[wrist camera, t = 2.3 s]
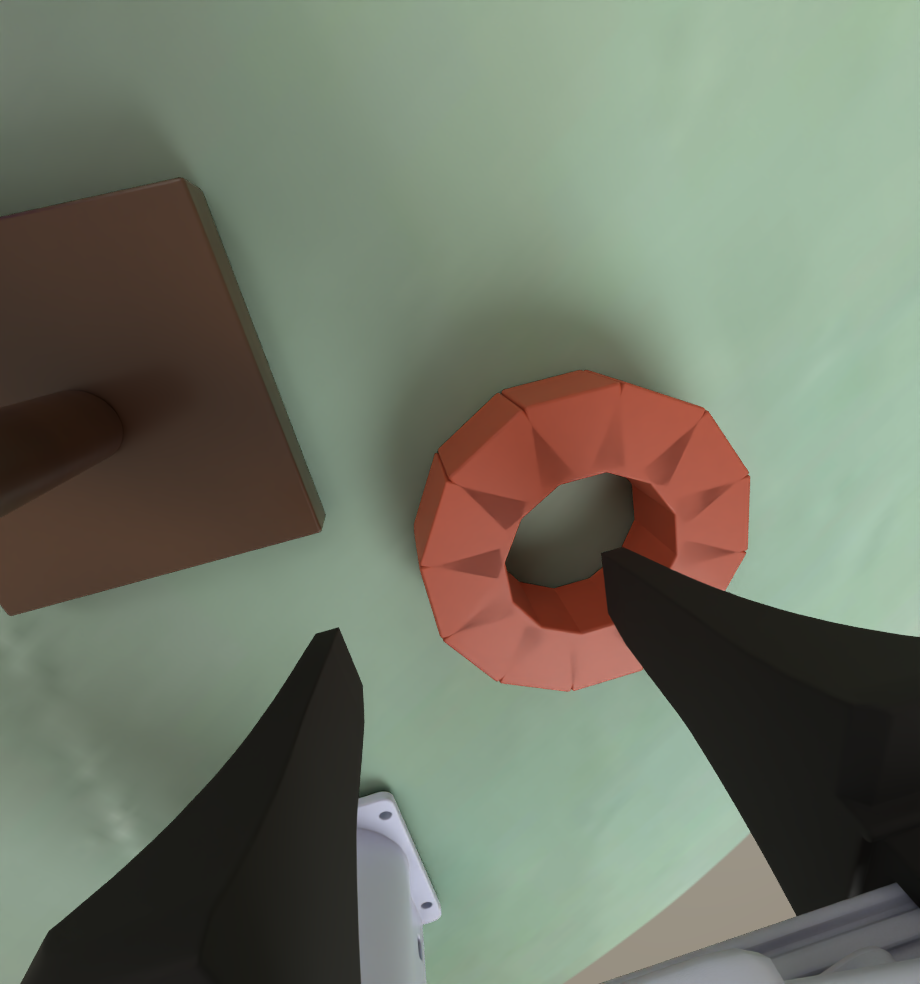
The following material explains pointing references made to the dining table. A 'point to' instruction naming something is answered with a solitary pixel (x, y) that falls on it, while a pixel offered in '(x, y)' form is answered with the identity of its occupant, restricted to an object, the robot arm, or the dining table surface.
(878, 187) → the dining table surface
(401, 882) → the robot arm
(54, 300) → the post
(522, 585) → the ring
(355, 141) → the dining table surface
